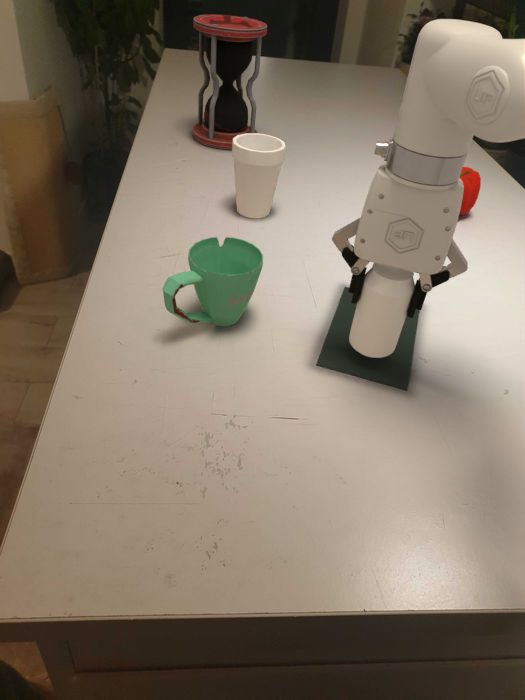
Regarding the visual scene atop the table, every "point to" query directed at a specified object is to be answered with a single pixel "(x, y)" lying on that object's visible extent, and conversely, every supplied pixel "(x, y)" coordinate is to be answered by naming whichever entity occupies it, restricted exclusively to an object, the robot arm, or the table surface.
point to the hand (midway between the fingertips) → (383, 303)
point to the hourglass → (226, 77)
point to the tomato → (469, 188)
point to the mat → (352, 362)
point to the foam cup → (256, 172)
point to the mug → (217, 280)
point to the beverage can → (381, 310)
